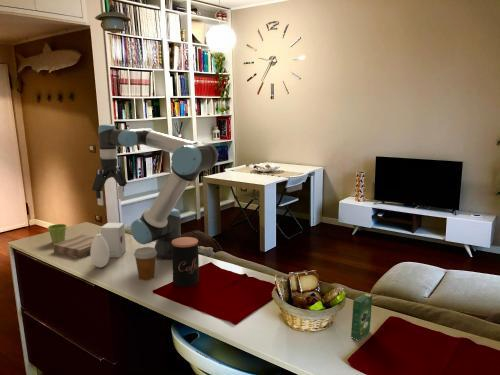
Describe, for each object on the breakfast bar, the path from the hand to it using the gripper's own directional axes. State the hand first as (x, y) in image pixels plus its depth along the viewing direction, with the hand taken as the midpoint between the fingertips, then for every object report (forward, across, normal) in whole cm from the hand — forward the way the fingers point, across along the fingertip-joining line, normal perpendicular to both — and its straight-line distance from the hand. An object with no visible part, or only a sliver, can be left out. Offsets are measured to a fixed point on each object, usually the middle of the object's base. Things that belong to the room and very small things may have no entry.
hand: (111, 202), depth 199 cm
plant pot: (+27, -1, -40) cm, 48 cm away
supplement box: (+27, 0, 0) cm, 27 cm away
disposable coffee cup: (+26, +15, +32) cm, 44 cm away
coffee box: (+26, +21, +123) cm, 128 cm away
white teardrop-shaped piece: (+26, +15, +6) cm, 31 cm away
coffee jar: (+26, +12, +50) cm, 58 cm away
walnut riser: (+26, +2, -20) cm, 33 cm away
